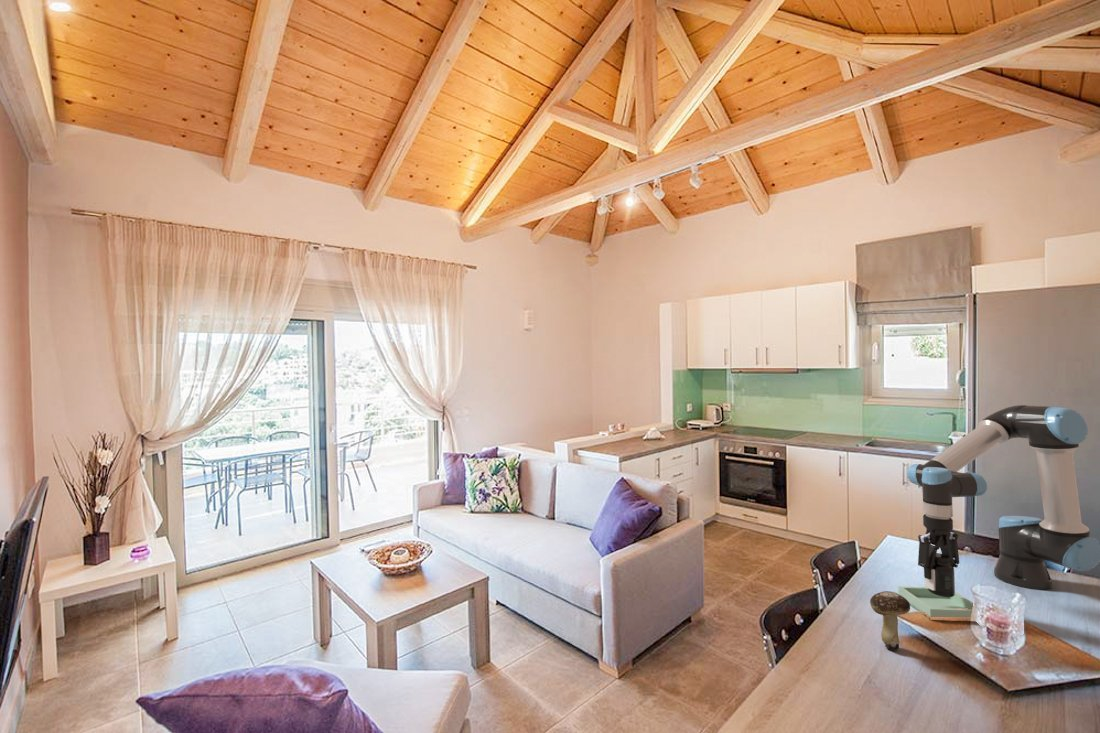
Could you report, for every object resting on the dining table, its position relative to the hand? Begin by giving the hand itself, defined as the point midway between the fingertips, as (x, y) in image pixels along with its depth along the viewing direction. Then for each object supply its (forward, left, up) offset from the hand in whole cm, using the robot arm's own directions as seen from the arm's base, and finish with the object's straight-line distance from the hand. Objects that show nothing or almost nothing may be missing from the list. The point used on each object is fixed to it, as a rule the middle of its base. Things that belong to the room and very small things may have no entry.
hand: (939, 587), depth 155 cm
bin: (0, 0, -7) cm, 7 cm away
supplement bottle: (0, 0, -2) cm, 2 cm away
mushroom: (+29, +25, -7) cm, 39 cm away
